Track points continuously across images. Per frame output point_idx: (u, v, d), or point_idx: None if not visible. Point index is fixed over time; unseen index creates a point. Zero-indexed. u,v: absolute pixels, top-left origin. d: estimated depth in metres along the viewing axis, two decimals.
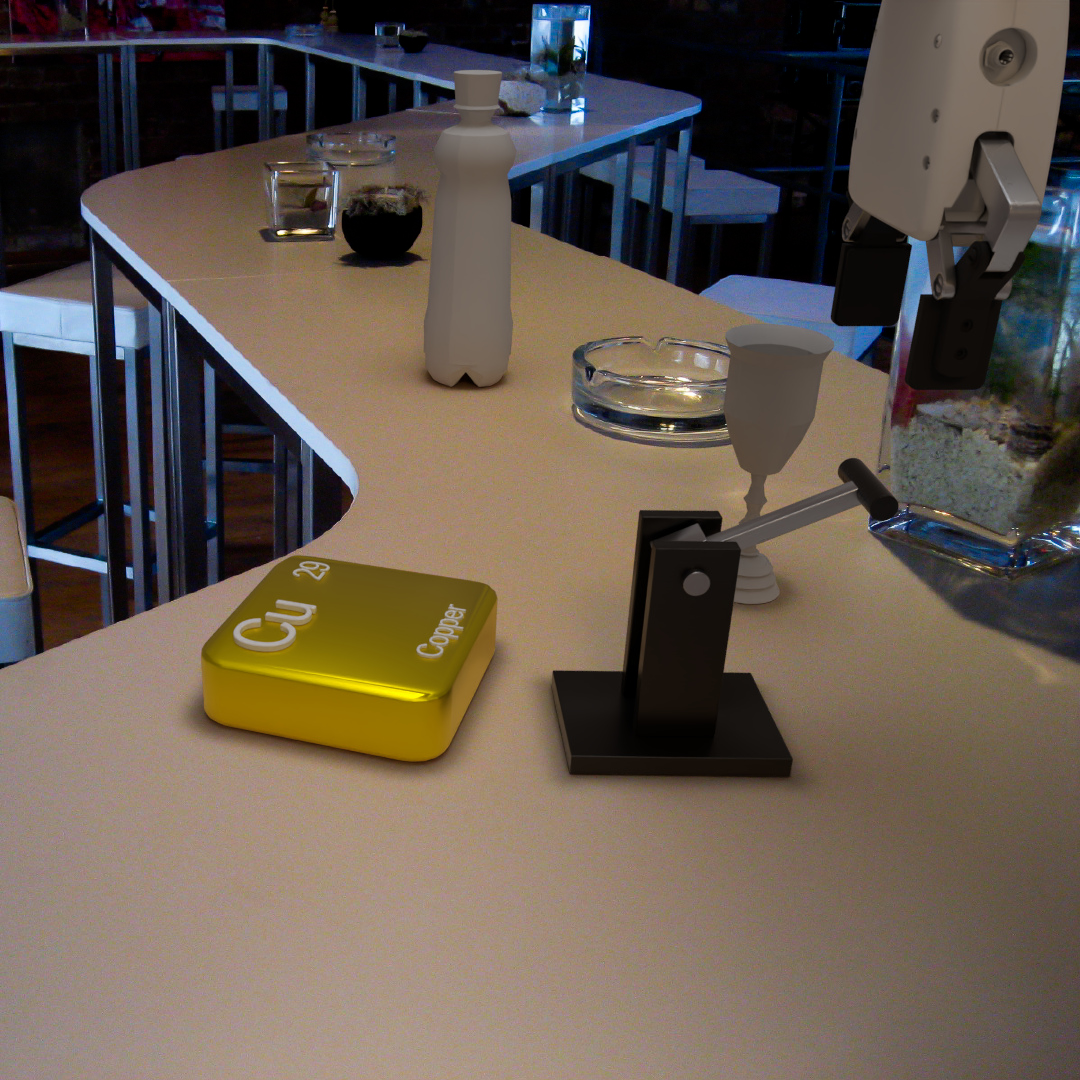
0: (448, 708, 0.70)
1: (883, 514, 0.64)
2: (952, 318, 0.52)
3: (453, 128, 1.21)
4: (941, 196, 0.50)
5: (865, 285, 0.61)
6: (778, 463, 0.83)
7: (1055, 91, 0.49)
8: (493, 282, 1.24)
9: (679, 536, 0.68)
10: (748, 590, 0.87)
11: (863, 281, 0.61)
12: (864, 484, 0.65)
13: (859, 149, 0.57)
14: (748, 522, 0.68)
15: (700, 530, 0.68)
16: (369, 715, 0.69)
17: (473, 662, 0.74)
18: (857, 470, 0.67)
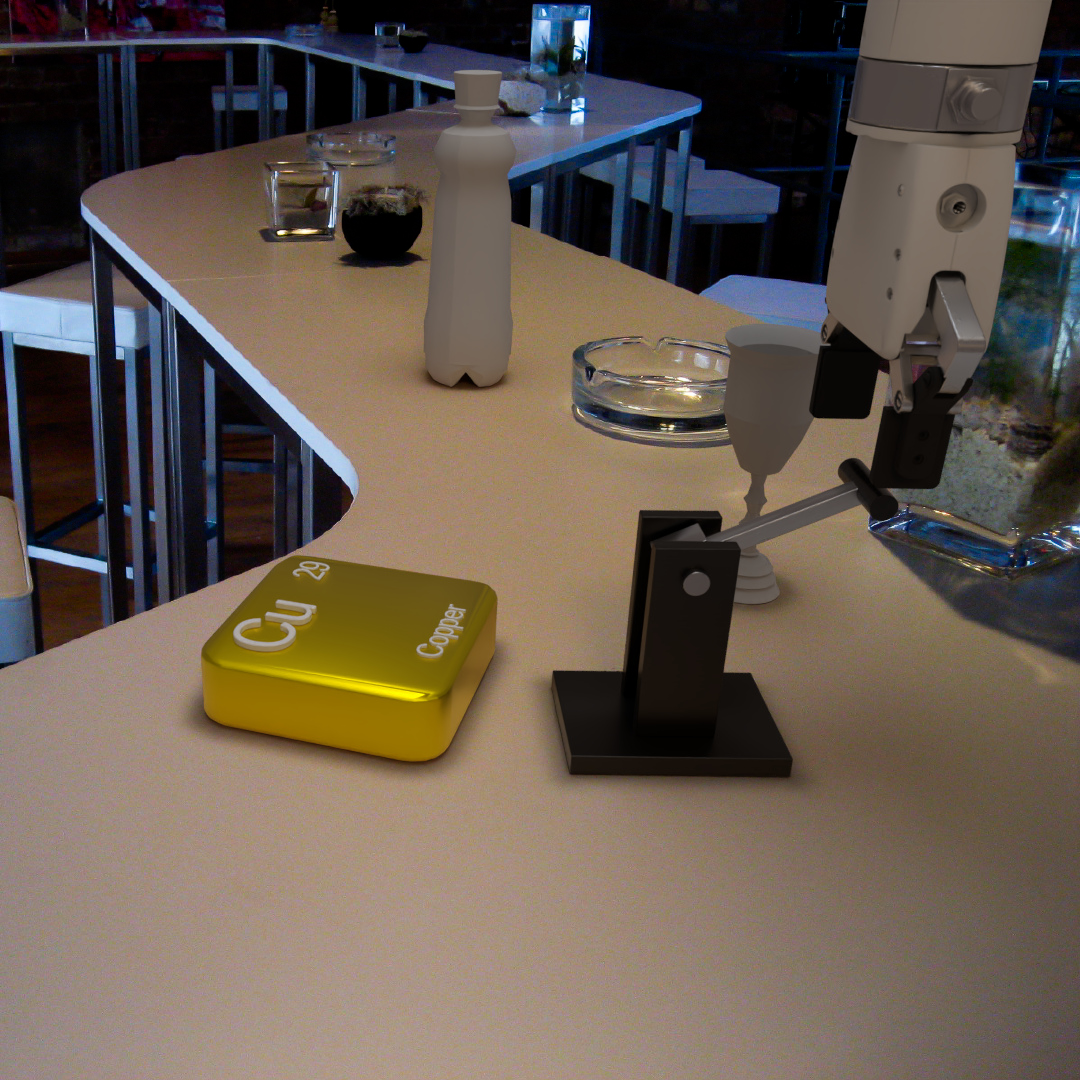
0: (447, 708, 0.70)
1: (883, 514, 0.64)
2: (910, 429, 0.59)
3: (453, 128, 1.21)
4: (902, 324, 0.58)
5: (840, 383, 0.69)
6: (778, 463, 0.83)
7: (1002, 237, 0.56)
8: (493, 282, 1.24)
9: (679, 536, 0.68)
10: (748, 590, 0.87)
11: (838, 380, 0.68)
12: (864, 484, 0.65)
13: (835, 268, 0.64)
14: (748, 522, 0.68)
15: (700, 530, 0.68)
16: (369, 714, 0.69)
17: (473, 662, 0.74)
18: (857, 470, 0.67)
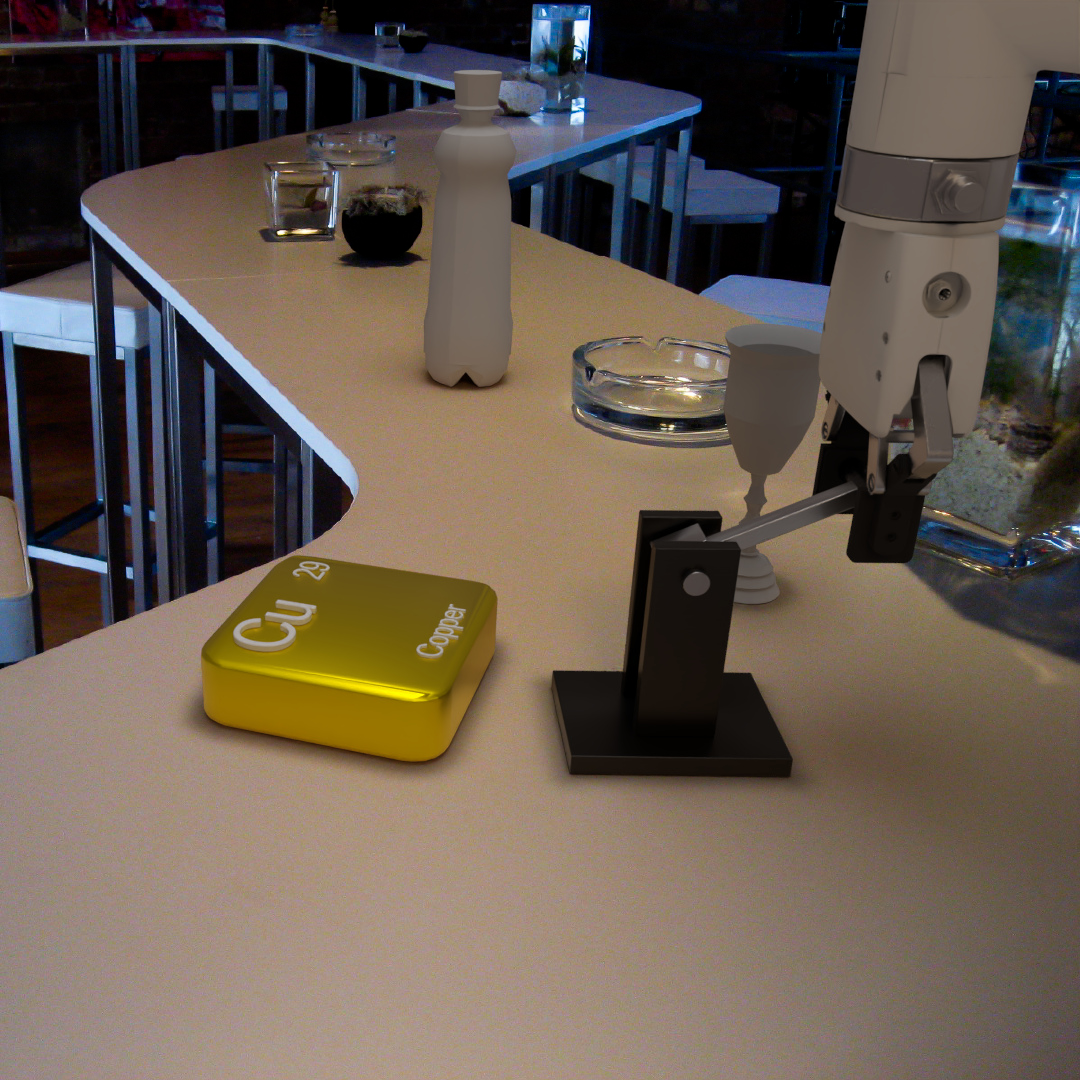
0: (447, 708, 0.70)
1: None
2: (883, 509, 0.62)
3: (453, 128, 1.21)
4: (891, 405, 0.59)
5: (841, 480, 0.69)
6: (778, 463, 0.83)
7: (987, 322, 0.58)
8: (493, 282, 1.24)
9: (679, 536, 0.68)
10: (748, 590, 0.87)
11: None
12: (864, 484, 0.65)
13: (827, 342, 0.66)
14: (748, 522, 0.68)
15: (700, 530, 0.68)
16: (369, 715, 0.69)
17: (473, 662, 0.74)
18: (857, 470, 0.67)
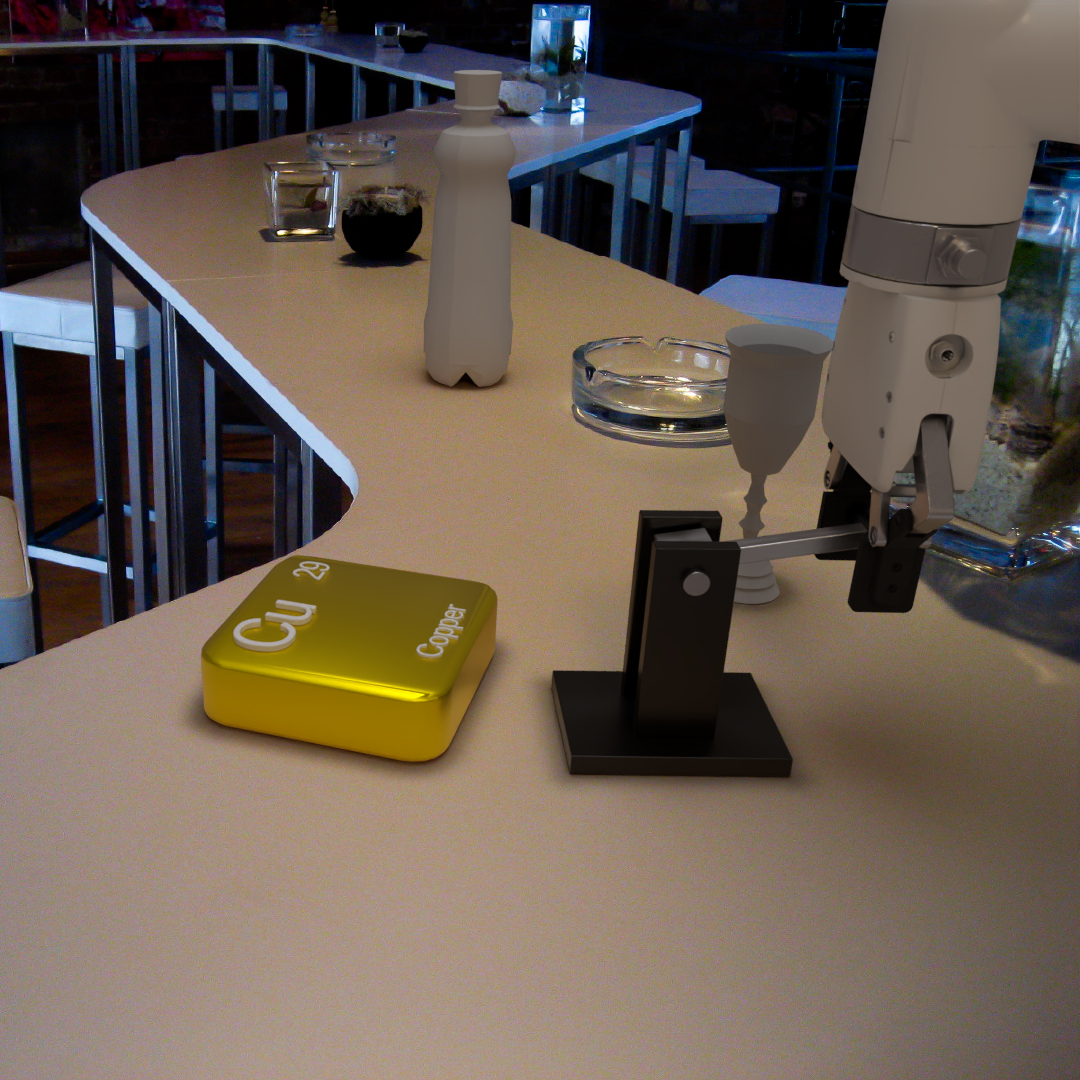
0: (447, 708, 0.70)
1: None
2: (884, 561, 0.64)
3: (453, 128, 1.21)
4: (893, 462, 0.60)
5: None
6: (778, 463, 0.83)
7: (988, 383, 0.59)
8: (493, 282, 1.24)
9: (685, 535, 0.68)
10: (748, 590, 0.87)
11: (841, 524, 0.70)
12: None
13: (830, 394, 0.67)
14: (754, 538, 0.68)
15: (707, 534, 0.68)
16: (369, 715, 0.69)
17: (473, 662, 0.74)
18: (867, 514, 0.68)
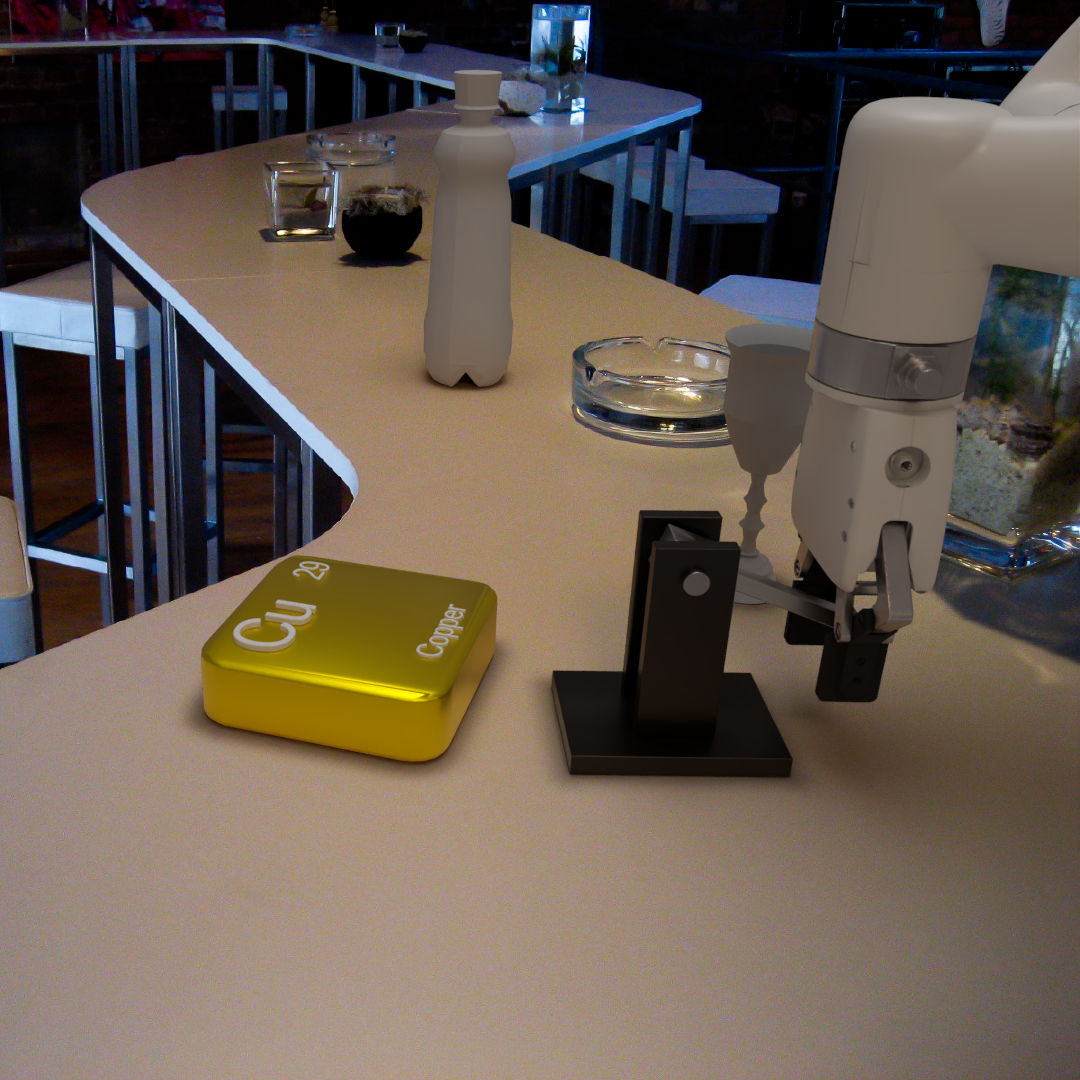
0: (447, 708, 0.70)
1: None
2: (849, 656, 0.66)
3: (453, 128, 1.21)
4: (855, 565, 0.63)
5: None
6: (778, 463, 0.83)
7: (946, 492, 0.61)
8: (493, 282, 1.24)
9: (696, 538, 0.68)
10: None
11: None
12: None
13: (798, 489, 0.70)
14: (750, 572, 0.69)
15: None
16: (369, 715, 0.69)
17: (473, 662, 0.74)
18: None
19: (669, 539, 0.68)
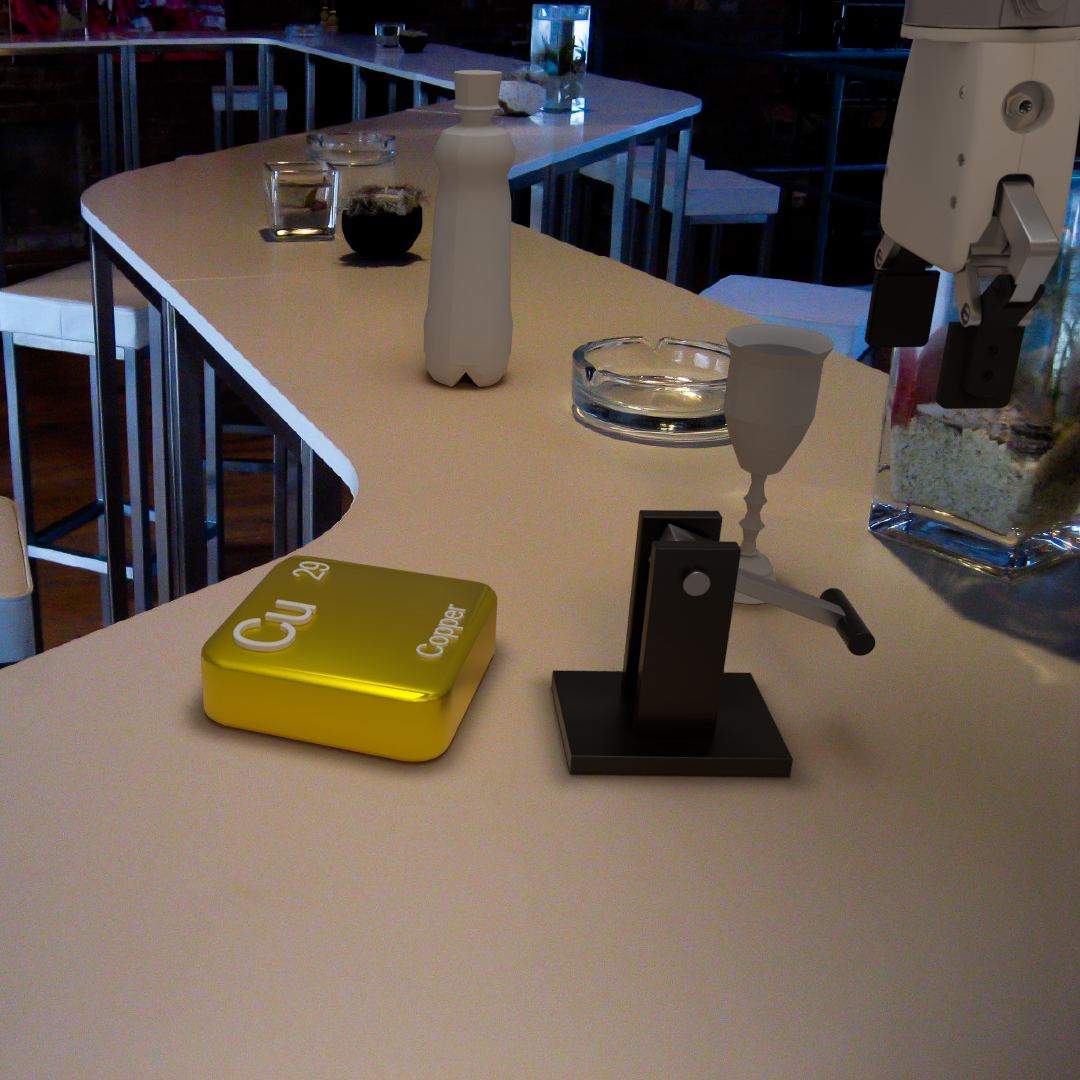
0: (447, 708, 0.70)
1: (856, 648, 0.67)
2: (979, 343, 0.56)
3: (453, 128, 1.21)
4: (967, 233, 0.55)
5: (897, 309, 0.66)
6: (778, 463, 0.83)
7: (1071, 137, 0.54)
8: (493, 282, 1.24)
9: (696, 538, 0.68)
10: None
11: (895, 306, 0.66)
12: (854, 616, 0.69)
13: (890, 186, 0.62)
14: (750, 572, 0.69)
15: None
16: (369, 715, 0.69)
17: (473, 662, 0.74)
18: (847, 602, 0.70)
19: (669, 539, 0.68)
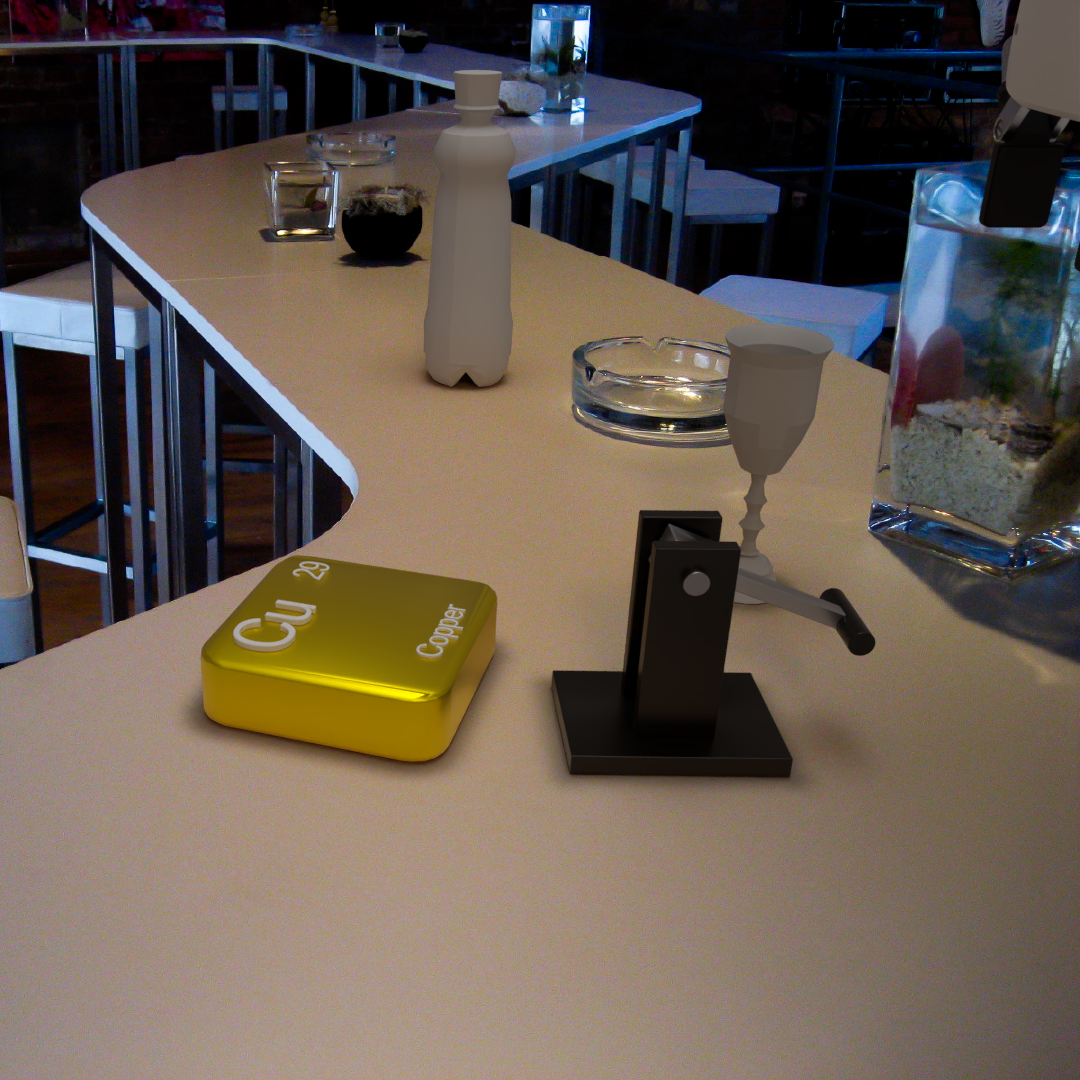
0: (447, 709, 0.70)
1: (856, 648, 0.67)
2: None
3: (453, 128, 1.21)
4: None
5: (1017, 185, 0.62)
6: (778, 463, 0.83)
7: None
8: (493, 282, 1.24)
9: (696, 538, 0.68)
10: None
11: (1015, 181, 0.62)
12: (854, 616, 0.69)
13: (1021, 43, 0.58)
14: (750, 572, 0.69)
15: None
16: (369, 715, 0.69)
17: (473, 662, 0.74)
18: (847, 602, 0.70)
19: (669, 539, 0.68)
